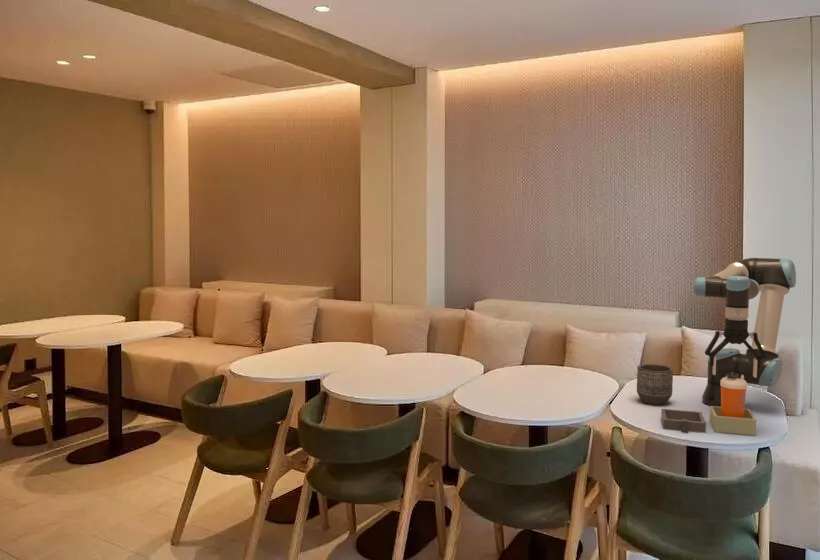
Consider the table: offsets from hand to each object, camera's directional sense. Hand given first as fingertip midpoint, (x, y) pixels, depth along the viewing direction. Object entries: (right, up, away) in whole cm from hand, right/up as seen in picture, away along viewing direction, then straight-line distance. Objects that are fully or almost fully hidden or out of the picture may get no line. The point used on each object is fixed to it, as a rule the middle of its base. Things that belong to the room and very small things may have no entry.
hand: (734, 375), depth 238 cm
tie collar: (-17, -20, +5) cm, 26 cm away
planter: (-16, -17, +36) cm, 43 cm away
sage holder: (0, -20, +2) cm, 20 cm away
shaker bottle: (0, -20, +2) cm, 20 cm away
